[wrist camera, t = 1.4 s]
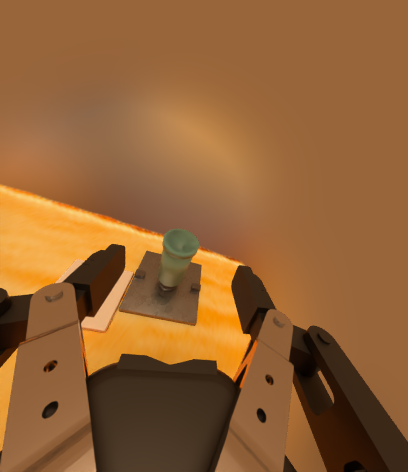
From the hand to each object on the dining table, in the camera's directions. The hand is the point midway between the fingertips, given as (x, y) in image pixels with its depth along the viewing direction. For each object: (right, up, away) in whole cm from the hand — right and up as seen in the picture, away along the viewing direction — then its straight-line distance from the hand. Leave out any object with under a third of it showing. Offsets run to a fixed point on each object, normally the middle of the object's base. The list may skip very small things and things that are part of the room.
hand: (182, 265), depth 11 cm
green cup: (-5, -6, +20) cm, 22 cm away
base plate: (-6, -9, +23) cm, 25 cm away
